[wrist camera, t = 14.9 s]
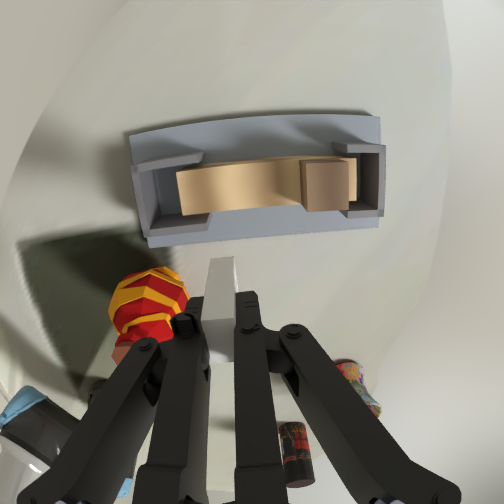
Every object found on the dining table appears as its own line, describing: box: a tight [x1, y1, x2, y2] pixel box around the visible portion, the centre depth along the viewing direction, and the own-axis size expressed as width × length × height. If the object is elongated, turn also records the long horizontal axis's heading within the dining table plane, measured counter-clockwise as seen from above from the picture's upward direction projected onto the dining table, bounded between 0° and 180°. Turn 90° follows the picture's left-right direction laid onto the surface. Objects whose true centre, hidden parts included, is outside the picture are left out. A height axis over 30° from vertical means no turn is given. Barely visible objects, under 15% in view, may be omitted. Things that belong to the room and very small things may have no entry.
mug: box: [336, 362, 382, 418], centre depth 43 cm, size 12×9×11 cm
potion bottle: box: [108, 266, 190, 366], centre depth 31 cm, size 10×10×15 cm
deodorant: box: [279, 422, 315, 488], centre depth 48 cm, size 6×6×15 cm
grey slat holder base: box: [129, 114, 386, 248], centre depth 29 cm, size 29×14×6 cm, turn 95°
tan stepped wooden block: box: [176, 154, 357, 216], centre depth 28 cm, size 18×4×7 cm, turn 95°
